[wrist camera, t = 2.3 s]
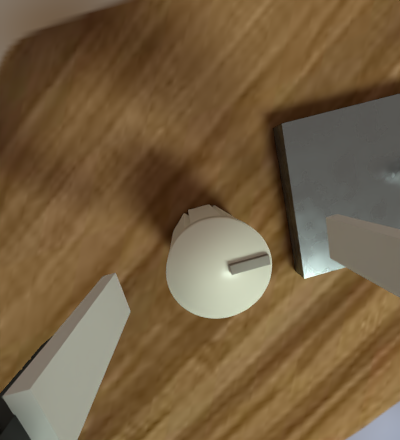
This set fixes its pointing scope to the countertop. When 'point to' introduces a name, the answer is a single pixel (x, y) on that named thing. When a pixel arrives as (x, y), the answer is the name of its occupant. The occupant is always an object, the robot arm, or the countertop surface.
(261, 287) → the knob
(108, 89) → the countertop surface
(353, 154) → the panel
